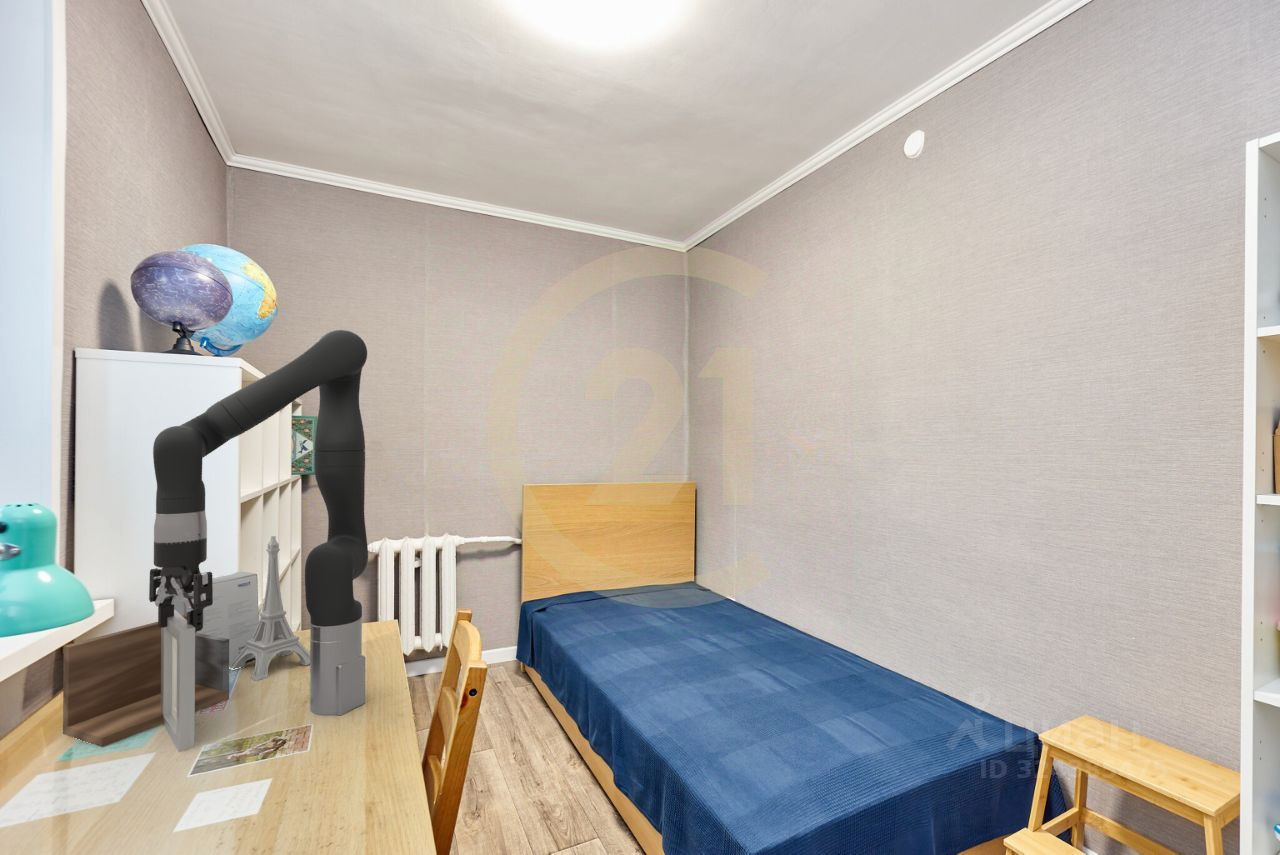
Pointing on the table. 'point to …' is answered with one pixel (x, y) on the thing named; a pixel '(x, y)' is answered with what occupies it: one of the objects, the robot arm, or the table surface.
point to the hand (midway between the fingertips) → (180, 628)
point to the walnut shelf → (131, 682)
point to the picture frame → (178, 681)
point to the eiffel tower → (271, 626)
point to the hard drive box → (230, 610)
